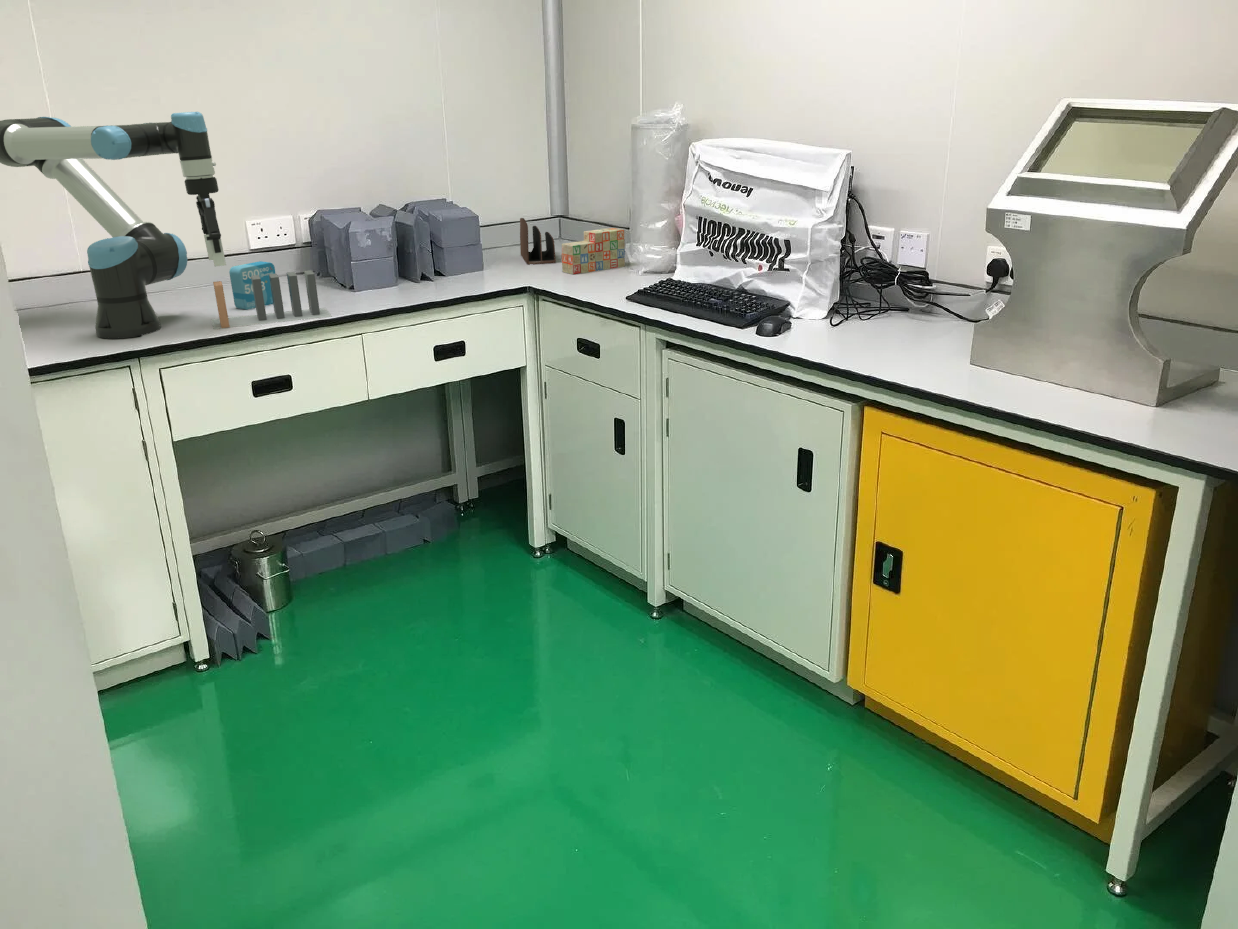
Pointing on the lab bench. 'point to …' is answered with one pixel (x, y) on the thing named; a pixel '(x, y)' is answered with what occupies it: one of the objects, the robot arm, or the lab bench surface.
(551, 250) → the letter holder
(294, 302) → the domino
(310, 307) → the domino
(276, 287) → the domino
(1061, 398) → the lab bench surface
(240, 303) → the data package
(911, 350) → the lab bench surface
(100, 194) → the robot arm
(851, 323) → the lab bench surface
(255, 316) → the mat
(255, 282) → the domino
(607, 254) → the stack of blocks
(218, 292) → the domino
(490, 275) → the lab bench surface
